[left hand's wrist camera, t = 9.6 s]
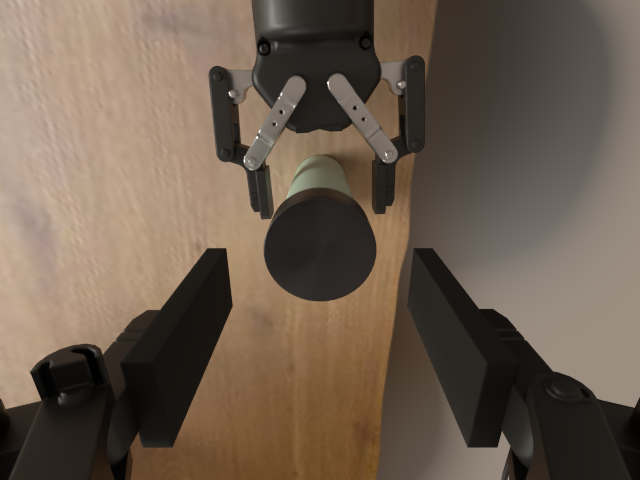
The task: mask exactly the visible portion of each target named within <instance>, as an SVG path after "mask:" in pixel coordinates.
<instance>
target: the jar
mask: <svg viewBox="0 0 640 480" xmlns="http://www.w3.org/2000/svg"><path fill="white" fill-rule="evenodd" d="M317 187H322V188H331V189H335V190H338V191H341V192H343V193H345V194H347V195H348V196H350V197H351V198H353V196H352V193H351V190H350V187H349V184H348V181H347V179H346V176H345V173H344V170H343V168H342V167H341V165H340V164H339V163H338V162H337V161H336V160H334V159H333V158H331V157H328V156H324V155H316V156H312V157H309V158H307V159H306V160H304V161H303V162H302V163H301V164H300V165H299V167H298V168H297V170H296V173H295V176H294V178H293V181H292V184H291V187H290V190H289V193H288V196H287V198H289V197H290V196H292V195H293V194H295V193H297V192H299V191H302V190H305V189H309V188H317Z"/></svg>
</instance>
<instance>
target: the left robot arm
mask: <svg viewBox="0 0 640 480" xmlns="http://www.w3.org/2000/svg"><path fill="white" fill-rule="evenodd" d="M232 306H233V305H232V296H231V287H230V278H229V269H228V260H227V251H226V248H207V250H206V251H205V252H204V254H203V255H202V256H201V257H200V259H199V260H198V261H197V263H196V264H195V265H194V267H193V268H192V269H191V271H190V272H189V273H188V274H187V276H186V277H185V278H184V280H183V281H182V282H181V284H180V285H179V286H178V288H177V289H176V290H175V291H174V293H173V294H172V295H171V297H170V298H169V299H168V301H167V302H166V303H165V304H164V306H163V307H162V308H161V310H147V311H145V312H144V313H142V314H141V315H139V316H138V317H136V318H135V319H133V320H132V321H131V322H130V324H129V325H128V326H127V327H126V328H125V329H124V332H122V333H121V334H120V335H119V336H118V338H117V339H116V342H113V343H112V345H111V346H110V347H109V348H108V349H107V350H106V352H105V353H104V354H103V355H102V352H101V349H100V348H98V347H97V346H96V345H91V344H80V345H73V346H70V347H66V348H63V349H60V350H58V351H56V352H54V353H52V354H50V355H48V356H46V357H45V358H44V359H42V360H41V361H39V362H38V363H37V364H36V365H35V366H34V368H33V369H32V370H31V371H30V373H31V375H32V378H33V380H34V383H35V385H36V388H37V390H38V392H39V395H40V397H41V400H42V401H39V402H35V403H31V404H27V405H22V406H18V407H14V408H9V409H5V406H4V404H3V402H2V400H1V399H0V480H131V472H132V462H133V460H132V454H131V450H130V446H131V444H132V442H133V441H134V439H135V437H136V435H137V433H138V432H139V436H140V439H141V443H142V447H173V445H174V442H175V440H176V438H177V435H178V433H179V430H180V428H181V426H182V423H183V421H184V419H185V416H186V414H187V412H188V409H189V407H190V405H191V402H192V400H193V398H194V395H195V393H196V391H197V388H198V386H199V384H200V381H201V379H202V377H203V374H204V372H205V370H206V367H207V365H208V363H209V360H210V358H211V356H212V353H213V351H214V349H215V346H216V344H217V342H218V339H219V337H220V335H221V332H222V330H223V327H224V325H225V323H226V320H227V318H228V316H229V313H230V311H231V309H232ZM407 306H408V309H409V311H410V313H411V316H412V318H413V320H414V323H415V325H416V327H417V330H418V332H419V335H420V337H421V339H422V342H423V344H424V346H425V348H426V351H427V353H428V355H429V358H430V360H431V362H432V365H433V367H434V369H435V372H436V374H437V377H438V379H439V381H440V384H441V386H442V388H443V391H444V393H445V395H446V398H447V400H448V402H449V405H450V407H451V409H452V412H453V414H454V416H455V419H456V421H457V423H458V426H459V428H460V430H461V433H462V435H463V437H464V440H465V442H466V444H467V447H498V443H499V439H500V436H501V432H503V433H504V435H505V437H506V439H507V441H508V442H509V444H510V446H511V447H510V450H509V453H508V457H507V460H506V464H505V467H504V470H503V474H502V480H507V479H508V475H509V480H640V398H639V400H638V402H637V404H636V406H635V408H633V407H628V406H624V405H620V404H616V403H611V402H607V401H603V400H599V399H597V398H596V397H595V395H594V394H593V392H592V391H591V390H590V389H588V388H587V387H586V386H585V385H584V384H582V383H581V382H579V381H577V380H575V379H574V378H572V377H570V376H567V375H564V374H561V373H558V372H553V371H552V370H551V369H550V367H549V366H548V365H547V364H546V363H545V362H544V360H543V359H542V358H541V357H540V356H539V355H538V354H537V352H536V351H535V350H534V349H533V348H532V347H531V345H530V344H529V343H528V342H527V341H525V340H524V337H523V336H522V335H521V334H520V333H519V332H518V331H517V330H516V328H515V327H514V326H513V325H512V323H511V322H510V321H509V320H508V319H507V318H506V317H504V316H503V315H501V314H500V313H498V312H497V311H495V310H494V309H478V307H477V306H476V304H475V303H474V302H473V301H472V299H471V298H470V297H469V295H468V294H467V293H466V291H465V290H464V289H463V288H462V286H461V285H460V284H459V282H458V281H457V280H456V278H455V277H454V276H453V275H452V273H451V272H450V271H449V269H448V268H447V267H446V265H445V264H444V263H443V261H442V260H441V259H440V257H439V256H438V255H437V254H436V252H435V251H434V250H433V249H432V248H414V251H413V260H412V269H411V278H410V287H409V296H408V305H407Z"/></svg>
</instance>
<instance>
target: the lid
mask: <svg viewBox="0 0 640 480" xmlns="http://www.w3.org/2000/svg"><path fill="white" fill-rule="evenodd" d="M264 258H265V263H266V266H267V268H268V270H269V272H270V274H271V276H272V277H273V279H274V280H275V281H276V282H277V284H278V285H280V286H281V287H282V288H283V289H284V290H286V291H287V292H288V293H290V294H292V295H294V296H296V297H299V298H302V299H305V300H310V301H330V300H335V299H338V298H341V297H344V296H346V295H348V294H350V293H351V292H353V291H354V290H356V289H357V288H358V287H360V286H361V284H362V283H363V282H364V281H365V280H366V279H367V277H368V276H369V274H370V272H371V271H372V268H373V266H374V263H375V259H376V241H375V237H374V234H373V231H372V228H371V226H370V223H369V221H368V218H367V216H366V214H365V212H364V211H363V209H362V208H361V206H360V205H359V204H358V203H357V202H356V201H355V200H354V199H353V198H351V197H350V196H348V195H347V194H345V193H343V192H341V191H338V190H335V189H331V188H322V187H317V188H309V189H305V190H302V191H299V192H297V193H295V194H293V195H292V196H290V197H289V198H287V199H286V200H285V201H284V202H283V203H282V204H281V205H280V206H279V208H278V209H277V211H276V212H275V214H274V216H273V219H272V221H271V224H270V226H269V228H268V231H267V233H266V237H265V241H264Z"/></svg>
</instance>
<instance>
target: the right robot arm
mask: <svg viewBox="0 0 640 480" xmlns="http://www.w3.org/2000/svg"><path fill="white" fill-rule="evenodd" d="M252 9H253V19H254V28H255V38H256V47H257V57H256V62H255V65H254V68H253V70H228V69H226V68H223V67H220V66H214V67H212V68H211V69H210V71H209V84H210V94H211V104H212V114H213V124H214V134H215V144H216V154H217V157H218V158H219V159H220V160H221V161H223V162H232V163H235V164H239V165H241V166H242V167H243V168H244V169H245V170H246V173H247V179H248V187H249V195H250V202H251V207H252V209H253V210H254V212H260V215H261V219H271V218H272V215H273V211H274V208H273V198H272V188H271V179H270V169H269V165H266V162H265V160H266V158H267V156H268V155H269V153H270V152H271V150H272V148H273V147H274V145H275V143H276V142H277V140H278V139H279V137H280V136H281V134H282V133H283V131H284V129H285V128H286V127H287V128H288V129H290V130H291V131H294V132H296V133H308V132H311V131H314V130H317V129H322V130H326V131H342V130H343V129H345V128H347V127H348V126H350V125H351V124H353V125H354V126H355V128H356V129H357V130H358V132H359V133H360V134H361V135H362V137H363V138H364V139H365V140H366V142H367V143H368V144H369V146H370V147H371V148H372V150H373V151H374V152H375V160H373V161H372V208H373V211H374V213H375V214H385V209H386V206H391V205H392V203H393V201H394V190H395V165H396V163H397V161H398V160H399V159H400V158H401V157H403V156H405V155H408V154H410V153H417V152H419V151H421V150H422V149H423V147H424V144H425V62H424V60H423V58H422V57H420V56H417V55H416V56H412V57H409V58H407V59H405V60H400V61H392V62H384V63H380V62H379V60H378V58H377V56H376V53H375V49H374V0H252ZM380 79H383V80H385V81H386V82H387V84H388V87H389V91H390V92H391V93H392V94H394V95H398V108H399V136H398V137H395V138H393V139H391V140H390V139H389V138H388V137H387V135H386V134H385V133H384V131H383V130H382V128H381V126H380V125H379V123H378V122H377V121H376V119H375V118H374V117H373V115H372V114H371V113H370V111H369V110H368V109H367V107H366V106H365V103H366V102H367V100H368V99H369V97H370V96H371V94H372V93H373V91H374V89H375V88H376V86H377V85H378V83H379V81H380ZM252 86H254V88H255V89H256V91H257V92H258V93H259V94H260V96H261V97H262V98H263V99H264V101H265V102H266V103H267V104H268V106H269V107H270V108H271V109H272V110H271V111H270V113H269V115H268V116H267V118H266V120H265V121H264V123H263V125H262V127H261V128H260V130H259V132H258V134H257V136H256V138H255V140H254V142H253V143H252V145H251V147H249V146H246V145H243V144H241V138H240V125H239V111H238V104H240V103H243V102H244V101H245V99H246V95H247V91H248V89H249V88H250V87H252Z"/></svg>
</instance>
